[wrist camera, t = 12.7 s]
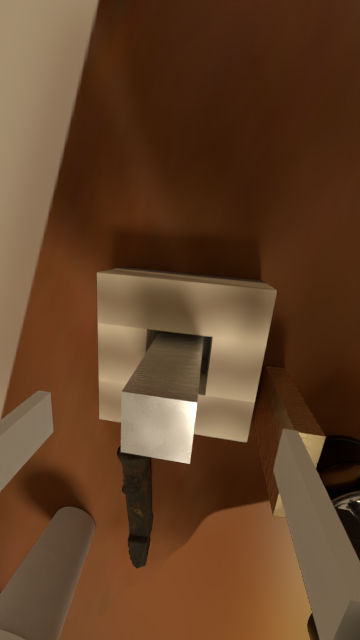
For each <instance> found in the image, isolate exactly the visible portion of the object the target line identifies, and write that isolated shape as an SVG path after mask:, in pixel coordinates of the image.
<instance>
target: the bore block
mask: <svg viewBox="0 0 360 640" xmlns="http://www.w3.org/2000/svg"><path fill="white" fill-rule="evenodd" d="M276 294H277V290H276V289H274V288H273V287H271V286H270V285H268V284H267V283H265V282H263V281H262V280H254V279H243V278H233V277H222V276H212V275H202V274H191V273H181V272H171V271H160V270H150V269H140V268H129V267H120V268H116V269H111V270H106V271H102V272H97V303H98V360H99V417H100V419H103V420H109V421H116V422H121V398H122V390H123V389H124V387H125V385H126V384H127V382H128V381H129V379H130V377H131V376H132V374H133V373H134V371H135V369H136V368H137V366H138V365H139V363H140V362H141V360H142V358H143V357H144V355H145V354H146V352H147V350H148V349H149V347H150V346H151V344H152V342H153V341H154V339H155V338H156V336H157V335H158V333H159V331H168V332H176V333H184V334H192V335H201V336H204V338H203V348H202V359H201V369H200V379H199V390H198V400H197V409H196V417H195V426H194V434H197V435H203V436H209V437H215V438H222V439H228V440H234V441H240V442H247V439H248V434H249V429H250V424H251V419H252V414H253V409H254V404H255V399H256V394H257V389H258V384H259V379H260V374H261V369H262V364H263V359H264V354H265V349H266V344H267V339H268V334H269V329H270V324H271V319H272V314H273V309H274V304H275V299H276Z"/></svg>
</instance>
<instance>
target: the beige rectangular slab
mask: <svg viewBox="0 0 360 640" xmlns="http://www.w3.org/2000/svg"><path fill="white" fill-rule="evenodd" d="M253 429H254V433H255V438H256V442H257V447H258V451H259V456H260V460H261V464H262V469H263V473H264V478H265V482H266V486H267V491H268V495H269V500H270V504H271V508H272V513H273V516H278V517H284V518H286V515H285V512H284V508H283V504H282V501H281V497H280V493H279V490H278V486H277V482H276V479H275V475H274V471H273V468H274V464H275V460H276V456H277V452H278V447H279V443H280V439H281V435H282V431H283V429H288V430H294V431H298V432H299V434H300V436H301V438H302V441H303V443H304V445H305V447H306V449H307V451H308V453H309V455H310V457H311V460H312V462H313V464H314V466H315V468H316V467H317V463H318V460H319V457H320V454H321V451H322V448H323V444H324V441H325V438H326V436H325V434H324V433H323V431H322V429H321V428H320V426H319V424H318V423H317V421H316V419H315V418H314V416H313V414H312V413H311V411H310V409H309V408H308V406H307V404H306V403H305V401H304V399H303V398H302V396H301V394H300V393H299V391H298V389H297V388H296V386H295V384H294V383H293V381H292V379H291V378H290V376H289V374H288V373H287V371H286V369H285V368H280V367H273V366H265V371H264V376H263V380H262V385H261V390H260V395H259V400H258V405H257V410H256V415H255V420H254V424H253Z"/></svg>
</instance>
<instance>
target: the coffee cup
mask: <svg viewBox="0 0 360 640" xmlns="http://www.w3.org/2000/svg"><path fill="white" fill-rule="evenodd" d="M94 532H95V522H94V520H93V519H92V517H91V516H90V515H89V514H88V513H86V512H85V511H83V510H81V509H79V508H76V507H63V508H61V509H59V510H58V511H57V512H56V514H55V515H54V517H53V518H52V520H51V521H50V523H49V524H48V526H47V527H46V528H45V530H44V531H43V533H42V534H41V536H40V537H39V539H38V540H37V542H36V543H35V545H34V546H33V548H32V549H31V550H30V552H29V553H28V555H27V556H26V558H25V559H24V561H23V562H22V564H21V565H20V567H19V568H18V569H17V571H16V572H15V574H14V575H13V577H12V578H11V580H10V581H9V583H8V584H7V585H6V587H5V588H4V590H3V591H2V593H1V594H0V640H59V637H60V634H61V630H62V627H63V624H64V621H65V618H66V615H67V612H68V609H69V606H70V603H71V600H72V597H73V594H74V591H75V588H76V585H77V582H78V579H79V576H80V573H81V571H82V568H83V565H84V562H85V559H86V556H87V553H88V550H89V547H90V544H91V541H92V538H93V535H94Z"/></svg>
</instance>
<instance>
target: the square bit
mask: <svg viewBox="0 0 360 640" xmlns="http://www.w3.org/2000/svg"><path fill="white" fill-rule="evenodd" d="M203 338H204V336H201V335H192V334H184V333H176V332H168V331H159V333H158V335H157V336H156V338H155V339H154V341H153V342H152V344H151V346H150V347H149V349H148V350H147V352H146V354H145V355H144V357H143V358H142V360H141V362H140V363H139V365H138V366H137V368H136V369H135V371H134V373H133V374H132V376H131V377H130V379H129V381H128V382H127V384H126V385H125V387H124V389H123V390H122V398H121V452H124V453H130V454H135V455H141V456H147V457H153V458H159V459H165V460H170V461H176V462H182V463H188V464H190V459H191V451H192V442H193V434H194V426H195V417H196V409H197V400H198V390H199V379H200V369H201V359H202V348H203Z"/></svg>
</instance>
